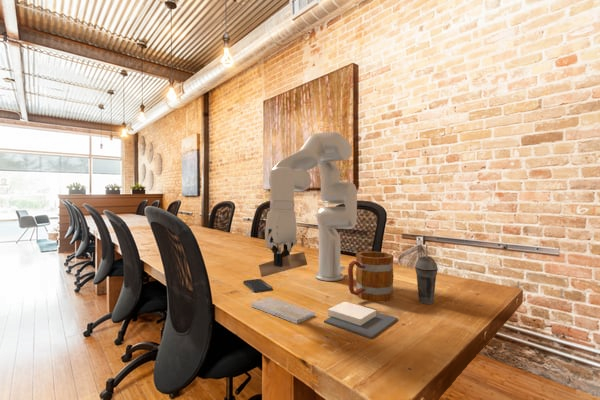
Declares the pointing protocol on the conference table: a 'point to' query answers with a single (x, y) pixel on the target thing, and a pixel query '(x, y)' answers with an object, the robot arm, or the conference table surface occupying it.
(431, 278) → the beverage cup
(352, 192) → the robot arm
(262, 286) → the phone
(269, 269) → the brown t-shaped post
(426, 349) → the conference table surface
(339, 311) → the tile
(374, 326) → the mat
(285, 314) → the tool rest
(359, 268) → the mug
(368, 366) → the conference table surface
